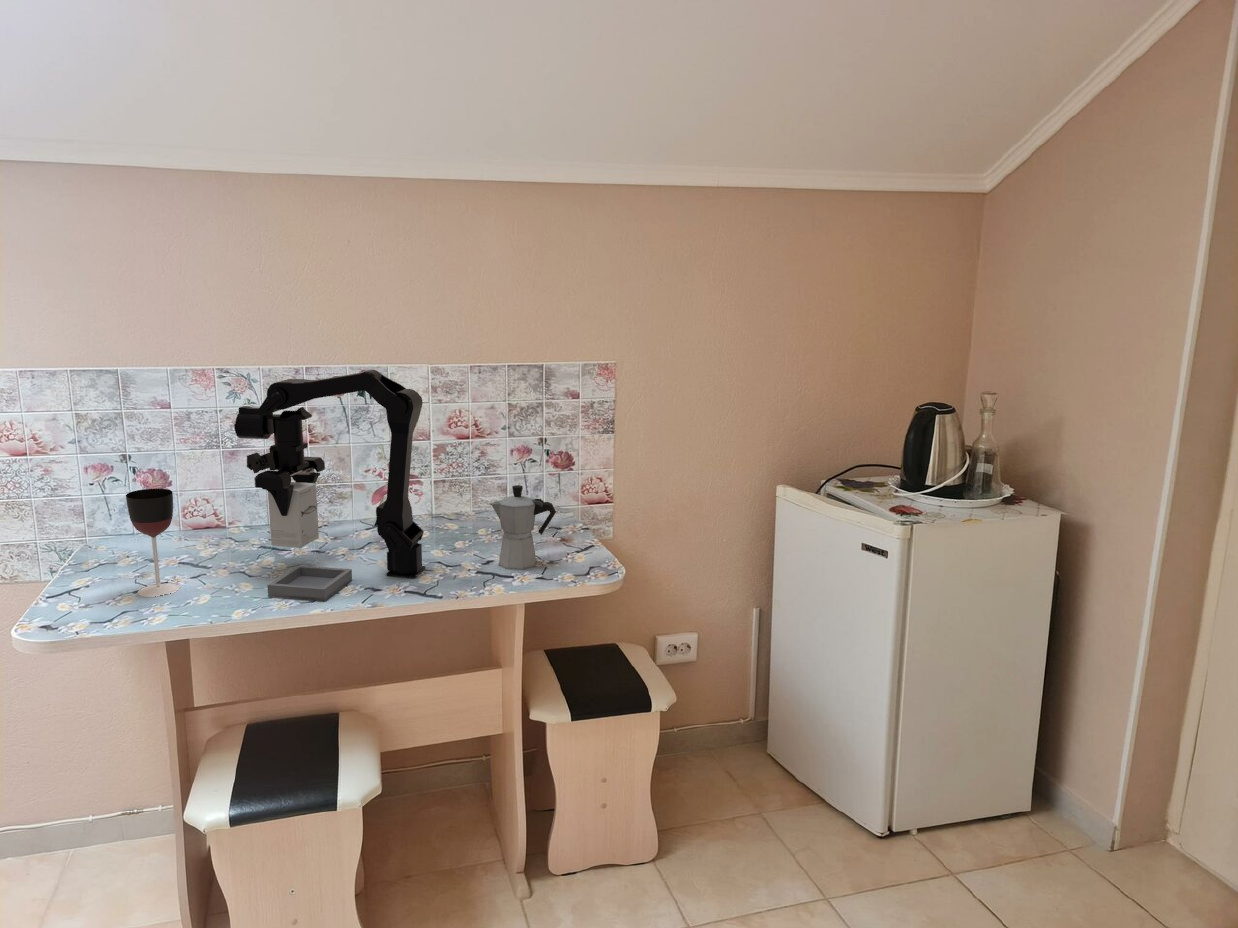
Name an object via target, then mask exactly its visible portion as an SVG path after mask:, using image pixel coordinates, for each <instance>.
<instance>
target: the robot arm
mask: <svg viewBox="0 0 1238 928" xmlns="http://www.w3.org/2000/svg"><path fill="white" fill-rule="evenodd" d="M364 391H365V392H366V393H367V394H369V395H370V397H372V398H373V399H374V401H375V402H376V403H377V404H379V405H380V406H381V407H383V408H384V409H385V411H386V421H387V424H388V428H389V430H390V447H389V448H390V449H389V462H388V474H387V487H386V488H387V489H386V491H387V492H386V499H385V500H384V501H383V502H382V503H380V504H379V505H378V506H377V507H376V508H375V516H376V517H375V518H376V519H375V522H374V524H373V525H374V527H376V528H377V529H376V530H377V534H378V536H380V538H381V539H382V540H383V541H384V542H385V545H386V548H387V550H388V551H387V552H386V567H387V568H386V569H387V572H386V576H388V577H400V578H413V579H414V578H417V577H418V576H419V575H420V573H422V572H423V571H424V570H425V569H426V566H425V565H423V549H422V544H423V543H419V542H420V541H421V540H422V538H423V535H424V533H425V531H424V530H423V528H421V527H420V526H419V525H418V524H417V523H416V522H415V521H414V519H413V509H412V505H411V501H410V499H409V498H410V497H409V491H410V490H409V489H410V475H411V463H412V450H413V440H414V439H413V436H414V432H415V428H416V426H417V424H418V421H419V419H420V415H421V411H422V407H423V398H422V396H421V395H420V394H419V392H417V391H416V390H415V389H412V388H406V387H405V386H403V385H402V384H401V383H398V382H396V381H395V380H392V379H391V378H389V377H387V376H385V375H384V374H382V373H381V372H379V371H378V370H376V369H370V370H365V371H362V372H357V373H352V374H350V373H349V374H344V375H339V376H333V377H327V378H326V377H325V378H321V379H307V378H306V379H305V378H304V379H303V378H288V379H283V380H281V381H276V382H274V383H271V384H270V385H269V387H268V388H267V391H266V397H265V399H264V401H263V402H262V404H261V405H260V406H259V407H254V406H249V405H242V406H240V407H238V414H237V415H236V418H235V422H234V425H233V427H234V433H235V435H236V436H237V437H238V438H239V439H247V440H249V439H250V440H252V439H253V440H268V439H269V438H271V435H273V439H274V442H273V443H274V444H272V445H270V447H269V452H268V453H264V454H261V455H260V453H258V452H255V453H254V452H253V453H252V454H247V455H246V468H247V469H249V470H250V471H253V474H257V473H258V474H257V475H256V476H255V477H254V488H259V489H262V490H266V491H267V493H268V492H270V493H271V494H272V496H273V498H274V500H275V502H276V504H277V507H278V509H279V511H280V513H281V515H282V516H287V514H288V510H289V506H290V502H291V497H292V493H293V488H294V485H290V483H291V482H292V479H293V482H300V483H315V484H317V481H318V479H319V477H320V476H321V472H323V471H324V470H326V465H325V460H324V459H323V458H322V457H321V456H305V449H307V448H308V447H309V446H308V445H309V444H308V442H304V429H303V421H305V420H308V419H310V418H312V417H313V415H312V413H311V412H309V411H308V410H306V409H305V407H304V406H301V407H298V408H297V409H296V410H287V409H289V408H293V407H295V406H298V405H300V404H304V403H307V402H309V401H312V400H314V399H320V398H327V397H332V396H338V395H339V396H340V395H345V394H351V393H357V392H364ZM281 410H283V411H282V412H280V413H279V414H276V412H278V411H281ZM268 469H269V470H268ZM260 471H262V472H260Z"/></svg>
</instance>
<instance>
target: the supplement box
mask: <svg viewBox="0 0 1238 928" xmlns="http://www.w3.org/2000/svg"><path fill="white" fill-rule="evenodd" d="M290 485H294V488H293V493H292V497H291V502H290V506H289V510H288V514H287V516H282V515H281V513H280V511H279V509H278V507H277V504H276V502H275V500H274V498H273V496H272V494H271V493H270V492H268V491H267V499H268V501H267V502H268V512H269V513H268V514H269V515H268V516H269V517H268V518H269V528H270V529H269V530H270V543H271V544H270V545H271V546H274V547H285V548H286V547H287V548H294V549H295V548H297V549H302V548H303V547H305V546H306V545H308V544H311V543H313V542H314V541H316V540H319V539H320V536H319V534H320V532H319V516H318V497H317V483H300V482H295V481H291V483H290Z"/></svg>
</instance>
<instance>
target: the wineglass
mask: <svg viewBox="0 0 1238 928" xmlns="http://www.w3.org/2000/svg"><path fill="white" fill-rule="evenodd" d="M125 499H126V506H127V512H128V515H129V519H130V522H131V525H133V527H134V528H135V530H136V531H137V532H139V533H141V534H144V535H145V536H146V535H147V536H148V537H151V545H152V555H153V556H152V557H153V566H154V575H155V577H154V578H155V584H151V585H148V586H145V587H143V588H140V589H139V590H138V591H137V595H138V596H140V597H144V598H156V597H157V598H158V597H161V596H160V595H163V596H165V595H164V594H168V595H171V594H173V593H175V592H178V591H179V590H180V589H181V588H180V585H178V584H175V583H170V582H169V583H161V576H160V566H159V555H158V546H157V545H158V543H157V536H159V535H160V534H162V533H164V532H165V531H167V529H168V528H169V527H170V526H171V523H172V521H173V515H174V495H173V491H172V490H171V489H168V488H144V489H143V488H142V489H137V490H133V491H130V492H128V493H126V494H125ZM177 590H178V591H177ZM170 593H171V594H170ZM155 596H156V597H155Z"/></svg>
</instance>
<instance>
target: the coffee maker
mask: <svg viewBox="0 0 1238 928" xmlns="http://www.w3.org/2000/svg"><path fill="white" fill-rule="evenodd" d="M523 488H524V487H523V485H519V484H518V485H517V484H516V485H512V493H513V495H512V496H508V497H507V496H506V497H504V498H502V499H499V500H497V501H493V502H489V503H488V505H490V506H491V507H492V508H493V511H495V514H496V516H497V517H498V519H499V522H500V527H501V530H503V535H502V538H501V539H502V540H501V546H500V553H499V560H498V566H499V567H501V568H504V569H506V570H518V571H519V570H520V571H522V570H523V571H524V570H527V569H530V568H534V567H536V564H537V556H536V550H535V545H534V538H533V534H532V531H533V530H534V529H535V528H534V527H535V521H536V515H539V514H542V513H545V512H549V515H548V516H547V518H545V520H544V522H543V524H541V527H540V528H539V529H538V531H537V532H538V534H540V535H541V536H542V535H543V534H544V532H545V530H546V529H547V527H548V526H549V524H550V522H551V521H552V519H553V518H554V516H555V514H556V513H557V511H556V508H555V507H554V504H553V503H551V502H549V501H544V500H543V499H542V498H532V497H527V496H523V495H522V492H523Z"/></svg>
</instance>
